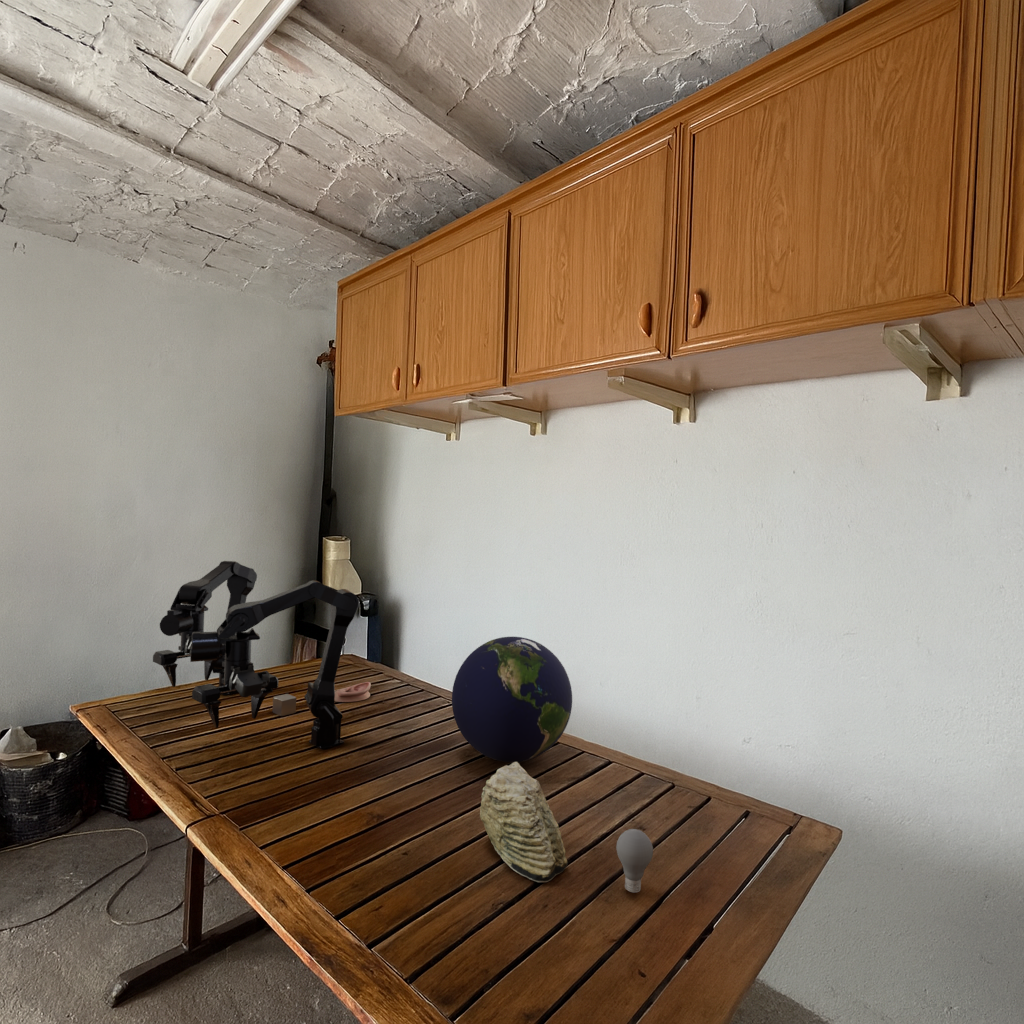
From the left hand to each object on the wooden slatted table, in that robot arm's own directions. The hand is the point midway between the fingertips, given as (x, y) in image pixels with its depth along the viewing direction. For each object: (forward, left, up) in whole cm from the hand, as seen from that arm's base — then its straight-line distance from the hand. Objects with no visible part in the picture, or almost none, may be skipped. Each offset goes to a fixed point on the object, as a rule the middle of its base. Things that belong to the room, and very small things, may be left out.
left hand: (190, 683), depth 180 cm
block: (+19, +17, -8) cm, 27 cm away
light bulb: (+135, +4, -8) cm, 135 cm away
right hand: (+37, -8, 0) cm, 38 cm away
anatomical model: (+22, +39, -8) cm, 45 cm away
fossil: (+114, 0, -8) cm, 115 cm away
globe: (+88, +34, -8) cm, 94 cm away
